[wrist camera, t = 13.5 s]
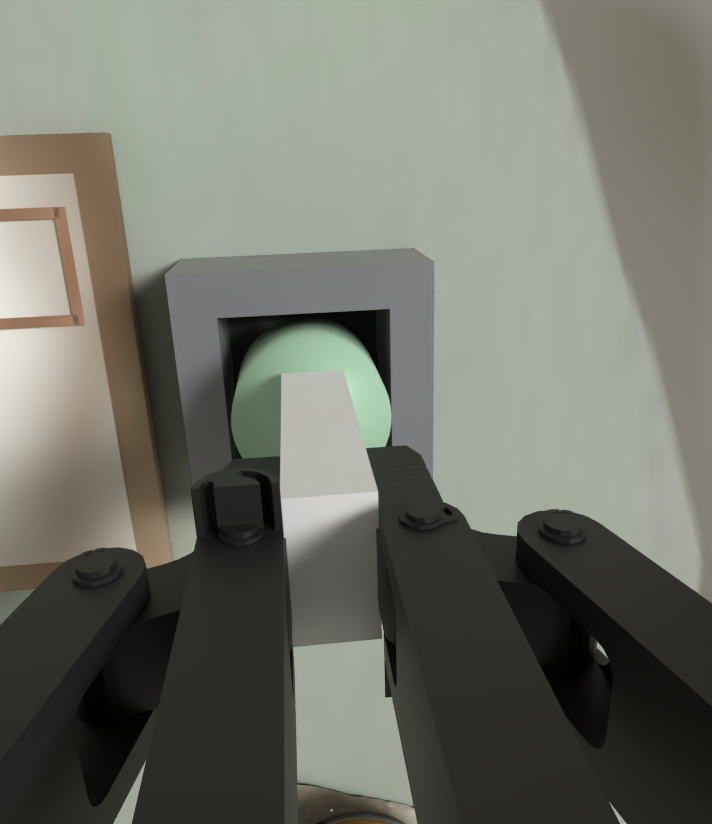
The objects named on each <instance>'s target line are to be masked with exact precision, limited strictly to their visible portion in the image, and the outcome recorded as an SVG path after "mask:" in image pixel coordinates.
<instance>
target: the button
mask: <svg viewBox="0 0 712 824" xmlns="http://www.w3.org/2000/svg"><path fill="white" fill-rule="evenodd" d="M342 369H343V371H344V374H345V378H346V381H347V385H348V388H349V392H350V395H351V399H352V402H353V406H354V409H355V413H356V416H357V420H358V423H359V427H360V430H361V434H362V437H363V441H364V444H365V448H374V447H385V446H386V443H387V440H388V438H389V434H390V429H391V418H392V415H391V405H390V401H389V397H388V394H387V391H386V389H385V386H384V384H383V382H382V380H381V378H380V376H379V373H378V371H377V369H376V367H375V365H374V362H373V360H372V358H371V356H370V354H369V352H368V350H367V349H366V347H365V346H364V344H363V343H362V342H361V341H360V340H359V339H358V337H357V336H356V335H355V334H353V333H352V332H351V331H349V330H348V329H347V328H345V327H343V326H341V325H340V324H337V323H335V322H333V321H330V320H326V319H322V318H315V317H301V318H294V319H290V320H286V321H283V322H281V323H278V324H276V325H274V326H272V327H271V328H269V329H267V330H266V331H265V332H263V333H262V334H261V335H260V336H259V337H258V338H257V339H256V340H255V341H254V342H253V343H252V345H251V346H250V347H249V349H248V351H247V352H246V354H245V356H244V359H243V361H242V364H241V368H240V372H239V376H238V381H237V386H236V391H235V396H234V400H233V405H232V413H231V428H232V433H233V438H234V441H235V444H236V447H237V449H238V451H239V453H240V455H241V456H242V458H243V459H244V458H258V457H273V456H280V449H281V373H292V372H309V371H325V370H342Z"/></svg>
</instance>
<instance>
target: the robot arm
mask: <svg viewBox="0 0 712 824" xmlns="http://www.w3.org/2000/svg"><path fill="white" fill-rule="evenodd" d="M191 496H192V503H193V511H194V519H195V526H196V534H197V540H196V544H195V549H194V552H192V553H191V554H189V555H187V556H185V557H183V558H181V559H178V560H175V561H172V562H169V563H166V564H162V565H159V566H155V567H151V568H147V569H146V563H145V561H144V558H143V556H142V555H141V554H139V553H138V552H136V551H134V550H132V549H126V548H120V547H115V548H97V549H95V550H89V551H86V552H83V553H82V554H80V555H78V556H75V557H73V558H71V559H69V560H67V561H65V562H64V563H63V564H61V565H60V566H59V567H57V568H56V569H55V570H54V571H53V572H52V573H51V574H50V575H49V576H48V577H47V578H46V579H45V580H44V581H43V582H42V583H41V584H40V585H39V586H38V587H37V588H36V589H35V590H34V591H33V592H32V593H31V594H30V595H29V596H28V597H27V598H26V599H25V600H24V601H23V602H22V603H21V604H20V606H19V607H18V608H17V609H16V610H15V611H14V612H13V613H12V614H11V615H10V616H9V617H8V618H7V619H6V620H5V621H4V622H3V623H2V624H1V625H0V824H113V823H114V821H115V819H116V817H117V815H118V813H119V811H120V809H121V807H122V805H123V803H124V801H125V799H126V797H127V796H128V794H129V792H130V790H131V788H132V786H133V784H134V782H135V780H136V778H137V776H138V774H139V772H140V770H141V768H142V766H143V765H144V763H145V761H146V764H145V768H144V773H143V777H142V781H141V786H140V790H139V795H138V799H137V803H136V808H135V812H134V817H133V821H132V824H298V793H297V752H296V711H295V670H294V656H293V647H297V646H307V645H318V644H329V643H340V642H350V641H361V640H372V639H382V631H381V620H382V625H383V629H384V657H385V697H392V699H393V704H394V709H395V714H396V719H397V724H398V729H399V734H400V739H401V744H402V749H403V754H404V759H405V764H406V769H407V774H408V779H409V784H410V789H411V794H412V799H413V805H414V810H415V815H416V820H417V824H620V823H619V821H618V819H617V817H616V815H615V813H614V811H613V809H612V807H611V805H610V803H611V804H612V806H613V807H614V808H615V809H616V811H617V812H618V813H619V814H620V816H621V817H622V818H623V819H624V821H625V822H626V823H627V824H712V603H711V602H709V601H708V600H706V599H705V598H704V597H702V596H701V595H699V594H698V593H697V592H695V591H694V590H692V589H691V588H689V587H688V586H687V585H685V584H684V583H682V582H681V581H680V580H678V579H677V578H675V577H674V576H673V575H671V574H670V573H668V572H667V571H666V570H664V569H663V568H661V567H660V566H659V565H657V564H656V563H654V562H653V561H652V560H650V559H649V558H647V557H646V556H645V555H643V554H642V553H640V552H639V551H638V550H636V549H635V548H633V547H632V546H631V545H629V544H628V543H626V542H625V541H624V540H622V539H621V538H619V537H618V536H617V535H615V534H614V533H612V532H611V531H610V530H608V529H607V528H605V527H604V526H603V525H601V524H600V523H598V522H596V521H594V520H592V519H591V518H589V517H587V516H584V515H580V514H577V513H573V512H571V511H568V510H561V511H559V509H551V510H547V511H537V512H534V513H532V514H529V515H526V516H524V517H523V518H522V519H521V520H520V521H519V522H518V528H517V536H507V535H496V534H489V533H483V532H479V531H475V530H472V529H471V528H470V526H469V524H468V522H467V520H466V518H465V516H464V515H463V514H462V513H461V512H460V511H459V510H458V509H457V508H455V507H453V506H451V505H449V504H447V503H443V500H442V498H441V496H440V494H439V492H438V490H437V488H436V486H435V483H434V481H433V479H432V478H431V475H430V473H429V471H428V469H427V468H426V464H425V462H424V460H423V458H422V456H421V454H419V453H418V452H416V451H414V450H413V449H411V448H410V447H408V446H407V445H403V446H388V447H374V448H365V444H364V441H363V437H362V434H361V430H360V427H359V423H358V420H357V416H356V413H355V409H354V406H353V402H352V399H351V395H350V392H349V388H348V385H347V381H346V378H345V374H344V371H343V369H342V370H325V371H309V372H292V373H281V449H280V456H273V457H258V458H244V459H234V460H233V461H231V462H230V463H229V464H228V465H227V466H226V467H225V468H224V469H223V470H220V471H217V472H214V473H211V474H208V475H206V476H204V477H203V478H201V479H200V480H198V481H196V482H195V484H194V485H193V487H192V488H191ZM597 641H598V643H599V644H600V645H601V646H602V648H603V649H604V651H605V653H606V655H607V657H608V658H607V657H606V656H605V655H604V654H603V653H602V652H601V651H600V650H598V649H597ZM609 802H610V803H609Z"/></svg>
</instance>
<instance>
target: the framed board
mask: <svg viewBox="0 0 712 824" xmlns="http://www.w3.org/2000/svg"><path fill="white" fill-rule="evenodd" d="M115 547H120V548H126V549H132V550H134V551H136V552H138V553H139V554H141V555H142V556H143V558H144V561H145V563H146V569H147V568H151V567H155V566H159V565H162V564H166V563H169V562H172V561H173V556H172V550H171V543H170V536H169V529H168V522H167V515H166V509H165V502H164V495H163V488H162V481H161V475H160V468H159V461H158V454H157V447H156V441H155V434H154V427H153V420H152V413H151V406H150V400H149V393H148V386H147V379H146V372H145V366H144V359H143V352H142V345H141V338H140V331H139V325H138V318H137V311H136V304H135V297H134V291H133V284H132V277H131V270H130V263H129V256H128V250H127V243H126V236H125V229H124V222H123V216H122V209H121V202H120V195H119V188H118V182H117V175H116V168H115V161H114V154H113V147H112V141H111V134H110V133H76V134H43V135H11V136H0V591H11V590H23V589H35V588H37V587H38V586H39V585H40V584H41V583H42V582H43V581H44V580H45V579H46V578H47V577H48V576H49V575H50V574H51V573H52V572H53V571H54V570H55V569H56V568H57V567H59V566H60V565H61V564H63V563H64V562H65V561H67V560H69V559H71V558H73V557H75V556H78V555H80V554H82V553H83V552H86V551H89V550H95V549H97V548H115Z"/></svg>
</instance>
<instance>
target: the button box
mask: <svg viewBox="0 0 712 824" xmlns="http://www.w3.org/2000/svg"><path fill="white" fill-rule="evenodd" d="M165 282H166V290H167V298H168V305H169V313H170V321H171V328H172V336H173V344H174V352H175V359H176V367H177V375H178V382H179V390H180V398H181V405H182V413H183V421H184V429H185V436H186V444H187V452H188V459H189V467H190V475H191V482H192V487H193V485H194V484H195V482H196V481H198V480H200V479H201V478H203V477H204V476H206V475H208V474H211V473H214V472H217V471H220V470H223V469H224V468H225V467H226V466H227V465H228V464H229V463H230V462H231V461H233V460H234V459H243V458H242V456H241V455H240V453H239V451H238V449H237V447H236V444H235V441H234V438H233V433H232V428H231V413H232V405H233V400H234V396H235V385H234V375H233V365H232V355H231V345H230V335H229V325H228V318H231V317H249V316H268V315H287V314H305V313H324V312H342V311H361V310H376V329H377V371H378V373H379V376H380V378H381V380H382V382H383V384H384V386H385V389H386V391H387V394H388V397H389V401H390V405H391V415H392V418H391V429H390V434H389V438H388V440H387V443H386V446H385V447H388V446H403V445H407V446H408V447H410V448H411V449H413V450H414V451H416V452H418V453H419V454H421V456H422V458H423V460H424V462H425V464H426V468H427V469H428V471H429V473H430V475H431V478H432V479H433V361H434V261H433V260H431V259H429V258H428V257H426V256H425V255H423V254H422V253H420V252H419V251H417V250H415V249H414V248H411V249H389V250H368V251H346V252H325V253H303V254H282V255H260V256H239V257H217V258H196V259H181V260H179V261H178V262H177V263H176V264H175V265H174V266H173V267H172V268H171V269H170V270H169V271H168V272H167V273H166V274H165Z"/></svg>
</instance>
